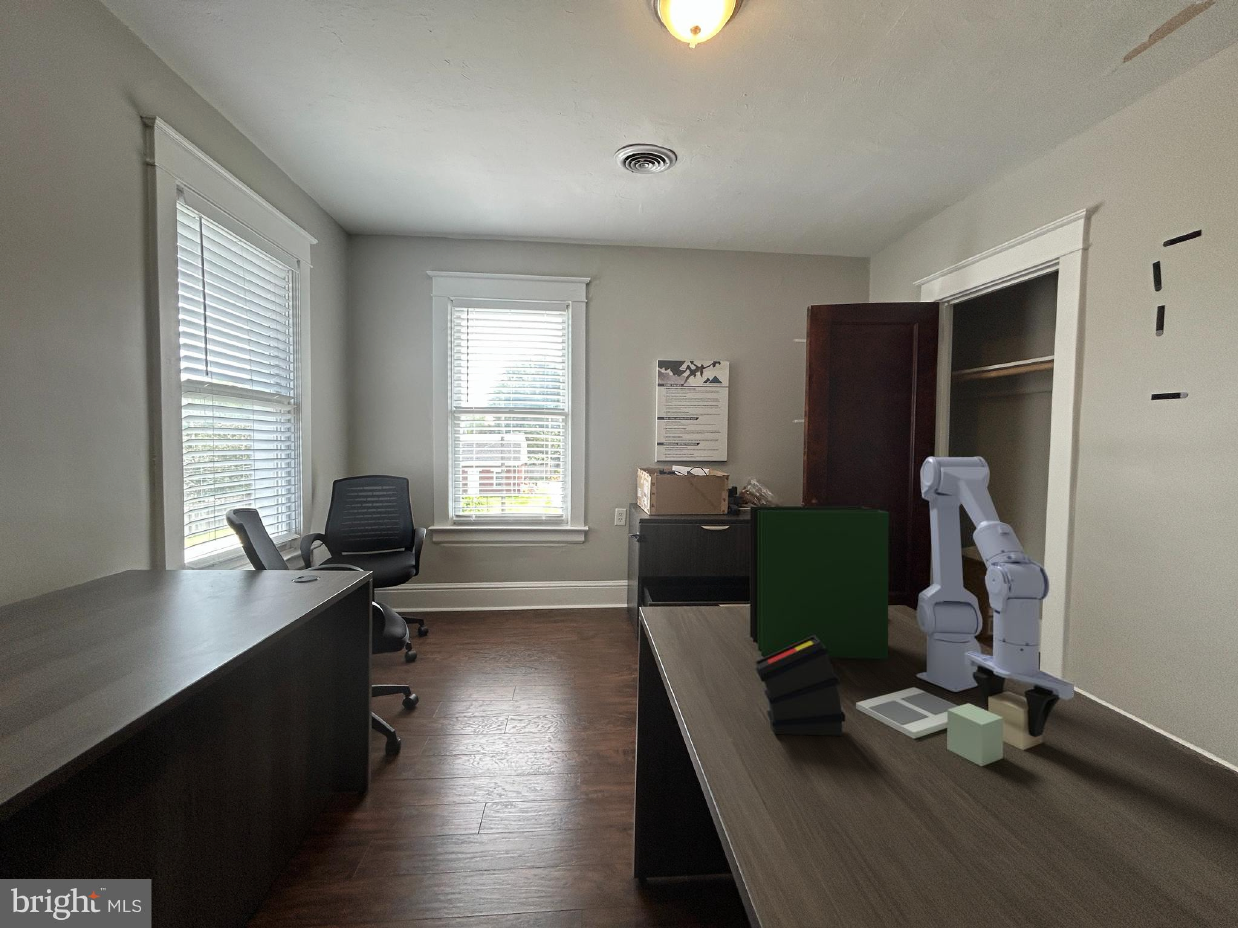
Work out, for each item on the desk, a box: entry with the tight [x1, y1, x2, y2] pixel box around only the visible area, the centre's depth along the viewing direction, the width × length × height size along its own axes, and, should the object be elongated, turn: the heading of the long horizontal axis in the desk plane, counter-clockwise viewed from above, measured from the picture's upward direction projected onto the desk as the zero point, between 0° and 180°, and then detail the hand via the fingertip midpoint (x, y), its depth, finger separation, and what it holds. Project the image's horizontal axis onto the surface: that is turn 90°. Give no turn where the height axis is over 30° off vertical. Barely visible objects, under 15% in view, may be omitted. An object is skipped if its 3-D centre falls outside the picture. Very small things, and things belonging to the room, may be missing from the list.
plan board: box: [855, 687, 959, 739], centre depth 91 cm, size 15×11×1 cm
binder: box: [749, 505, 890, 660], centre depth 124 cm, size 27×15×32 cm, turn 87°
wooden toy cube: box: [987, 691, 1043, 751], centre depth 83 cm, size 5×5×6 cm
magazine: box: [754, 635, 846, 737], centre depth 85 cm, size 4×13×15 cm, turn 87°
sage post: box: [946, 703, 1004, 767], centre depth 79 cm, size 5×5×6 cm
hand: (1014, 725), depth 83 cm, fingers open, 5 cm apart
